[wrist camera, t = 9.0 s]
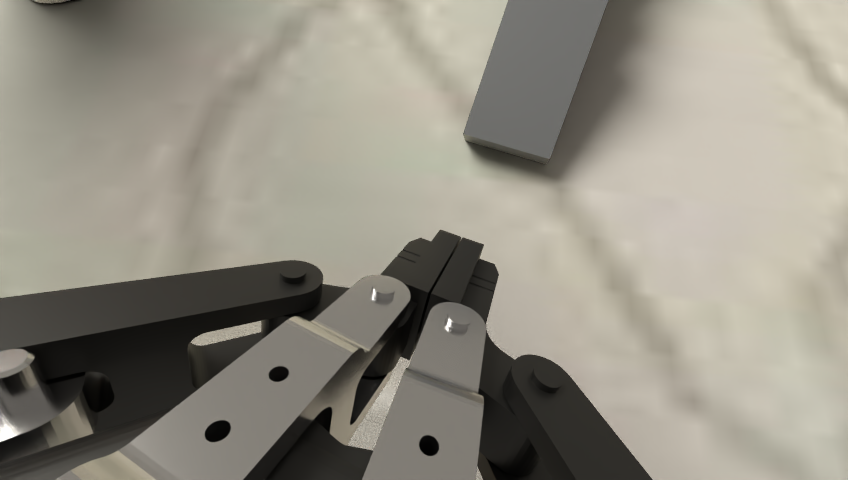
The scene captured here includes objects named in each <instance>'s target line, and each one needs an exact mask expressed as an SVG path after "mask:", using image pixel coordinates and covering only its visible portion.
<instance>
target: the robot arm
mask: <svg viewBox="0 0 848 480" xmlns="http://www.w3.org/2000/svg"><path fill="white" fill-rule="evenodd" d="M32 1H36V2H39V3H59V2H64V1H69V0H32ZM483 246H484V245H483V244H480V243H478V242H475V241H472V240H469V239H466V238H462V240H461V237H460V236H457V235H454V234H452V233H449V232H446V231H443V230H440V231H439V232H438V233H437V235H436V236H435V237H434V239H433V240H432V241H428V240H425V239H422V238H419V239H416V240H414V241H411V242H409V243H408V244H407V245H406V246H405V248H404V249H403V251H401V252H400V253H399V254H398V256H397V257H396V258H395V259H394V260H393V261H392V262H391V263H390V264H389V266H388V267H387V268H386V269H385V270H384V271H383V272H382V274H381V275H371V276H367V277H364V278H362V279H361V280H359V281H358V282H357V283H356V284H354V285H353V286H352V287H351V288H345V287H338V286H332V285H325V284H323V274H322V272H321V271H320V269H318V268H317V267H316V266H314V265H312V264H310V263H307V262H303V261H296V260H289V261H280V262H273V263H265V264H257V265H250V266H242V267H235V268H227V269H219V270H212V271H204V272H197V273H189V274H181V275H174V276H166V277H159V278H151V279H143V280H136V281H128V282H120V283H113V284H105V285H98V286H90V287H82V288H75V289H67V290H60V291H52V292H44V293H37V294H29V295H22V296H14V297H6V298H0V480H476V472H477V466H478V469H479V471H480V473H481V475H482V478H483V480H652V478H651V477H650V476H649V475H648V473H647V472H646V471H645V470H644V468H643V467H642V466H641V465H640V463H639V462H638V461H637V460H636V458H635V457H634V456H633V455H632V453H631V452H630V451H629V450H628V448H627V447H626V446H625V445H624V443H623V442H622V441H621V440H620V438H619V437H618V436H617V435H616V433H615V432H614V431H613V430H612V428H611V427H610V426H609V425H608V423H607V422H606V421H605V420H604V418H603V417H602V416H601V415H600V413H599V412H598V411H597V410H596V408H595V407H594V406H593V405H592V403H591V402H590V401H589V400H588V398H587V397H586V396H585V395H584V393H583V392H582V391H581V390H580V388H579V387H578V386H577V385H576V383H575V382H574V381H573V380H572V378H571V377H570V376H569V375H568V374H567V373H566V372H565V371H564V370H563V369H562V368H561V367H560V366H558V365H557V364H555V363H554V362H552V361H550V360H548V359H546V358H543V357H541V356H537V355H523V356H520V357H518V358H517V359H516V360H514V359H513V358H511V357H510V356H508V355H507V354H505V353H504V352H503V351H501V350H500V349H499V348H498V347H497V346H496V345H495V344H494V343H493V342H492V340H491V339H490V337H489V336H488V333H487V330H486V321H487V317H488V314H489V310H490V306H491V302H492V298H493V295H494V291H495V287H496V283H497V279H498V276H499V274H498V271H497V269H496V267H495V264H493V263H490V262H487V261H484V260H481V259H479V258H480V255H481V252H482V249H483ZM256 321H261V332H260V333H256V334H252V335H248V336H243V337H239V338H235V339H231V340H226V341H222V342H218V343H214V344H209V345H204V346H197V345H194V344H192V343H190V342H191V341H192V340H193V339H194V338H195V337H197V336H198V335H200V334H203V333H206V332H210V331H215V330H220V329H224V328H229V327H233V326H238V325H243V324H247V323H252V322H256ZM414 350H415V352H414ZM413 352H414V354H413ZM412 354H413V357H412V359H411V362H410V365H409V367H408V368H406V370H405V372H404V374H403V376H402V379H401V382H400V384H399V387H398V389H397V392H396V394H395V397H394V399H393V402H392V405H391V407H390V410H389V412H388V415H387V417H386V420H385V422H384V425H383V427H382V430H381V433H380V435H379V438H378V440H377V443H376V445H375V448H374V450H373V451H372V450H367V449H362V448H357V447H351V446H347V445H348V443H349V441H350V439H351V437H352V436H353V434H354V432H355V431H356V429H357V428H358V426H359V425H360V423H361V422H362V420H363V419H364V417H365V416H366V414H367V413H368V411H369V410H370V408H371V407H372V405H373V404H374V402H375V400H376V399H377V397H378V396H379V394H380V393H381V391H382V390H383V388H384V387H385V385H386V384H387V382H388V381H389V379H390V377H391V373H392V370H393V369H394V367H395V366H396V364H397V362H398V360H399V358H400V357H403V358H406V359H408V360H410V358H411V356H412Z"/></svg>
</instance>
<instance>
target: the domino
mask: <svg viewBox="0 0 848 480" xmlns="http://www.w3.org/2000/svg"><path fill="white" fill-rule="evenodd" d="M607 3H608V0H508V3H507V6H506V9H505V12H504V15H503V18H502V21H501V24H500V27H499V30H498V33H497V35H496V38H495V41H494V44H493V47H492V50H491V53H490V56H489V59H488V62H487V65H486V68H485V71H484V74H483V77H482V80H481V83H480V86H479V89H478V92H477V95H476V97H475V100H474V103H473V106H472V109H471V112H470V115H469V118H468V121H467V124H466V127H465V130H464V133H463V135H464V138H465V140H466V141H468V142H472V143H475V144H478V145H482V146H485V147H489V148H492V149H495V150H499V151H502V152H506V153H509V154H512V155H516V156H519V157H522V158H526V159H529V160H533V161H536V162H539V163H543V164H546V163H547V162H548V161H549V160H550V157H551V155H552V152H553V149H554V147H555V144H556V141H557V138H558V136H559V133H560V130H561V128H562V125H563V122H564V119H565V117H566V114H567V111H568V109H569V106H570V103H571V100H572V98H573V95H574V92H575V89H576V87H577V84H578V81H579V79H580V76H581V73H582V70H583V68H584V65H585V62H586V60H587V57H588V54H589V51H590V49H591V46H592V43H593V41H594V38H595V35H596V32H597V30H598V27H599V24H600V22H601V19H602V16H603V13H604V11H605V8H606V5H607Z"/></svg>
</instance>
